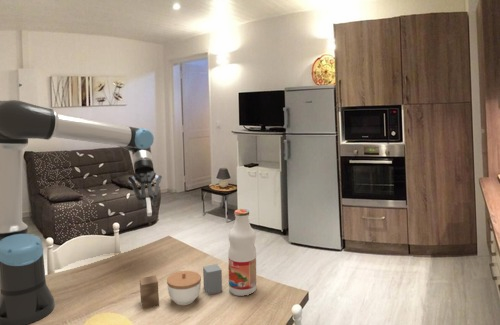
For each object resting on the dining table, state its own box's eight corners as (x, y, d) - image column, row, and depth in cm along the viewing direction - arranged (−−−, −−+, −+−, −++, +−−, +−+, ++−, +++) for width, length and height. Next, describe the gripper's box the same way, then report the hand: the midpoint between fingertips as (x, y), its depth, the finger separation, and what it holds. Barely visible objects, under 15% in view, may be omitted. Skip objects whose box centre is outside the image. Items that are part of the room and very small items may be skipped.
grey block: (207, 295, 118) (207, 272, 117) (203, 288, 123) (203, 266, 122) (222, 292, 120) (221, 269, 119) (217, 285, 125) (216, 264, 123)
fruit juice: (261, 292, 120) (261, 212, 116) (237, 299, 115) (235, 216, 111) (247, 280, 128) (247, 205, 124) (224, 287, 123) (222, 209, 119)
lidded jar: (207, 301, 114) (207, 273, 113) (178, 313, 107) (177, 284, 106) (190, 288, 122) (189, 263, 121) (161, 299, 115) (160, 272, 114)
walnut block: (142, 309, 110) (141, 285, 109) (140, 301, 114) (139, 278, 113) (159, 305, 112) (157, 281, 111) (156, 298, 116) (155, 275, 115)
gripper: (158, 168, 149) (166, 217, 136) (126, 170, 144) (130, 221, 131) (160, 157, 143) (168, 207, 130) (126, 159, 138) (131, 210, 125)
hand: (149, 214), depth 131 cm, fingers closed
